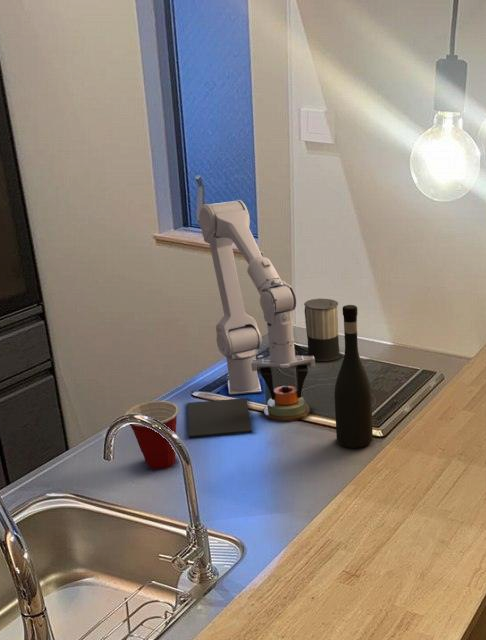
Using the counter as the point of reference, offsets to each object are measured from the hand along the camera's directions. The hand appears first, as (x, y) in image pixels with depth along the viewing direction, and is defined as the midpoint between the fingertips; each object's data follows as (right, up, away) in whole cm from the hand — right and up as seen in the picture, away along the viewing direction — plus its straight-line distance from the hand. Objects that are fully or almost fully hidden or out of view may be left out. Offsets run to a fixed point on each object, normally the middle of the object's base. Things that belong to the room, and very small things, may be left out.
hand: (285, 397), depth 202 cm
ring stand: (0, -3, +2) cm, 4 cm away
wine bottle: (+17, -13, -12) cm, 24 cm away
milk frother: (+1, +18, +35) cm, 40 cm away
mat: (-16, -5, -1) cm, 16 cm away
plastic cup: (-23, -19, -21) cm, 37 cm away
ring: (0, -1, 0) cm, 1 cm away
